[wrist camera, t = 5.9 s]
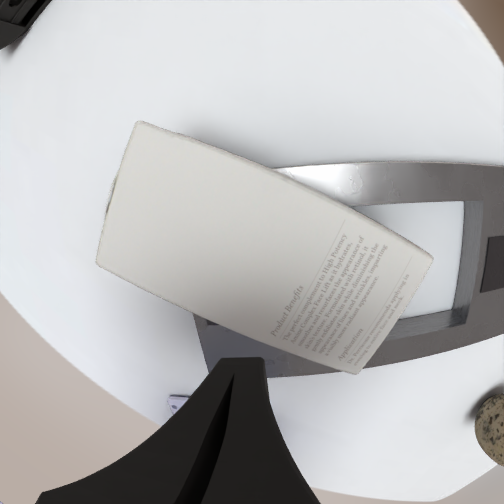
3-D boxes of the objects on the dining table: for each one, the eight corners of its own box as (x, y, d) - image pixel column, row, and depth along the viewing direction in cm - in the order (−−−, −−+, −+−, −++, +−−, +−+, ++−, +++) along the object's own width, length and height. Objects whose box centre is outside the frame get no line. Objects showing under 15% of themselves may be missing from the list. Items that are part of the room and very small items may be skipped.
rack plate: (492, 320, 16) (505, 333, 14) (216, 359, 19) (210, 379, 17) (511, 166, 12) (530, 170, 10) (180, 181, 15) (166, 184, 13)
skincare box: (399, 235, 13) (179, 127, 13) (443, 261, 9) (136, 110, 8) (340, 333, 15) (137, 238, 14) (356, 387, 10) (88, 263, 10)
